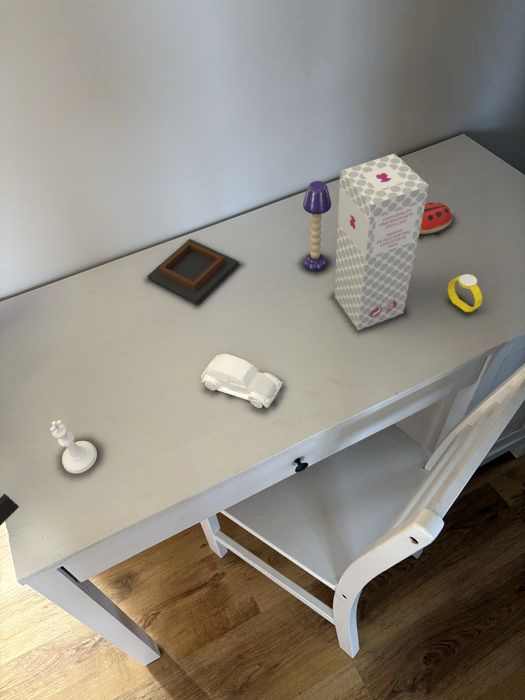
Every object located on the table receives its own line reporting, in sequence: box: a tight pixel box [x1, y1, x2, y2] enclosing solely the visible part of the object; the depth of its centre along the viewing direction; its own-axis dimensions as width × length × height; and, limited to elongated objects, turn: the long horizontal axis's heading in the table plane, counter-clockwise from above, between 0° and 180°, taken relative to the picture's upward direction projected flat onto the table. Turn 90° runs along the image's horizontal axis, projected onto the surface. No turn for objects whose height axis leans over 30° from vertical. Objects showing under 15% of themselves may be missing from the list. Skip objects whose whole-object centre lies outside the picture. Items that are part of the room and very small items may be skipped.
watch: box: [447, 273, 483, 313], centre depth 87 cm, size 6×3×6 cm, turn 34°
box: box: [334, 153, 430, 331], centre depth 81 cm, size 8×8×25 cm
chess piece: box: [49, 419, 98, 474], centre depth 73 cm, size 5×5×10 cm
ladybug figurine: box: [419, 202, 454, 235], centre depth 101 cm, size 7×10×4 cm
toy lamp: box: [302, 180, 332, 272], centre depth 92 cm, size 5×5×17 cm
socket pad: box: [147, 238, 240, 306], centre depth 98 cm, size 12×12×2 cm
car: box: [200, 353, 283, 409], centre depth 81 cm, size 12×6×5 cm, turn 61°
